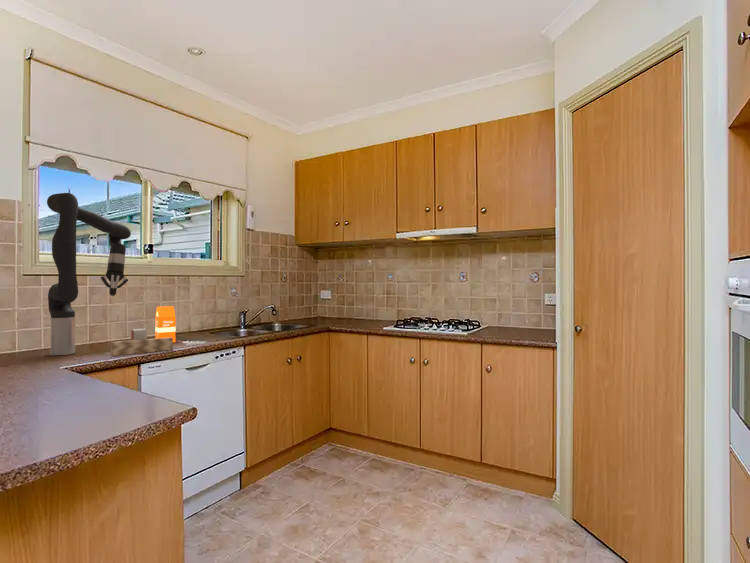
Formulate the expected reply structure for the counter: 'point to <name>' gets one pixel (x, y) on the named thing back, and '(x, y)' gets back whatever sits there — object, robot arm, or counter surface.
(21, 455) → the counter surface
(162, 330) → the orange juice
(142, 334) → the small box
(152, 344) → the board
